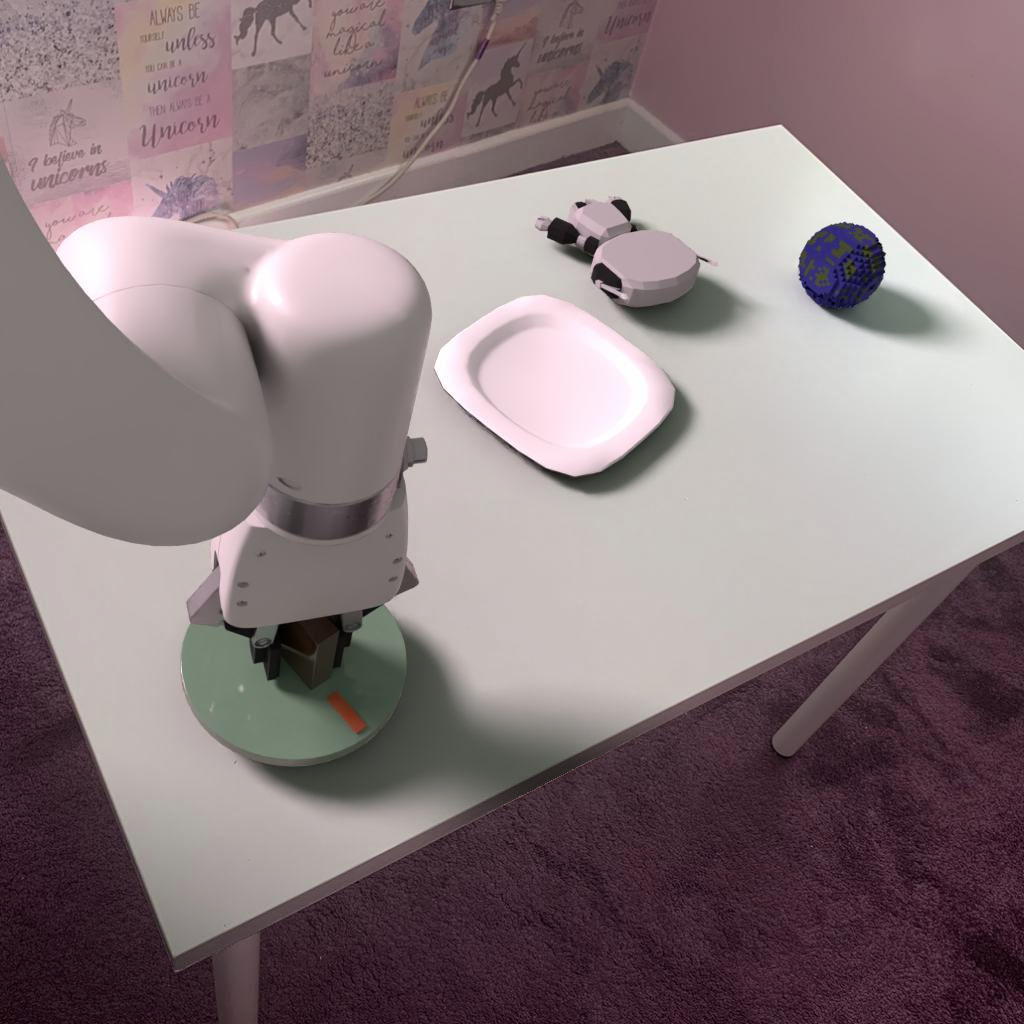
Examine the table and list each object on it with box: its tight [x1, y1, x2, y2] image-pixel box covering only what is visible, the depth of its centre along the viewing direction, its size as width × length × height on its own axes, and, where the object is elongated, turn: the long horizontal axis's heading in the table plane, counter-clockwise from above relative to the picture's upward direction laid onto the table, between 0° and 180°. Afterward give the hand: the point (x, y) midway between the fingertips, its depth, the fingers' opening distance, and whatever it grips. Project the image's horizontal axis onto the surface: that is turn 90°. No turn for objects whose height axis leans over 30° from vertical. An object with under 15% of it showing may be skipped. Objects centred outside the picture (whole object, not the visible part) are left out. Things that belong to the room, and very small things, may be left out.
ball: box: [797, 221, 887, 310], centre depth 106 cm, size 8×8×8 cm
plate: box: [433, 294, 676, 479], centre depth 90 cm, size 18×18×2 cm
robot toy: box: [533, 195, 720, 308], centre depth 102 cm, size 12×4×15 cm
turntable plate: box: [180, 604, 408, 767], centre depth 65 cm, size 14×14×7 cm
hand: (298, 652), depth 66 cm, fingers closed on turntable plate, 3 cm apart
